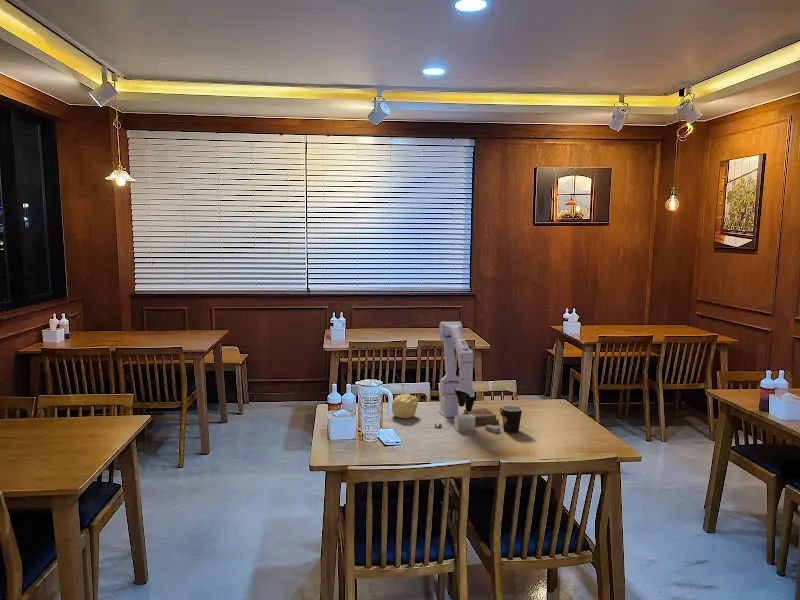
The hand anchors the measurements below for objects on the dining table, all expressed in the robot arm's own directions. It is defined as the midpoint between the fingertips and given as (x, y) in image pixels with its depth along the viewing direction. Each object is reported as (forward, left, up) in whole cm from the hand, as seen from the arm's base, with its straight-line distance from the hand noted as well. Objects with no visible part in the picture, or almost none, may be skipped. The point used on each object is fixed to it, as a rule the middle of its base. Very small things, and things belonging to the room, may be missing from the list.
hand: (465, 408), depth 242 cm
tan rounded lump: (-24, -20, -9) cm, 33 cm away
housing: (0, 0, -9) cm, 9 cm away
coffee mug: (+6, +19, -9) cm, 22 cm away
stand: (-10, +12, -9) cm, 18 cm away
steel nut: (-6, -10, -9) cm, 15 cm away
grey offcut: (+5, +11, -10) cm, 15 cm away
